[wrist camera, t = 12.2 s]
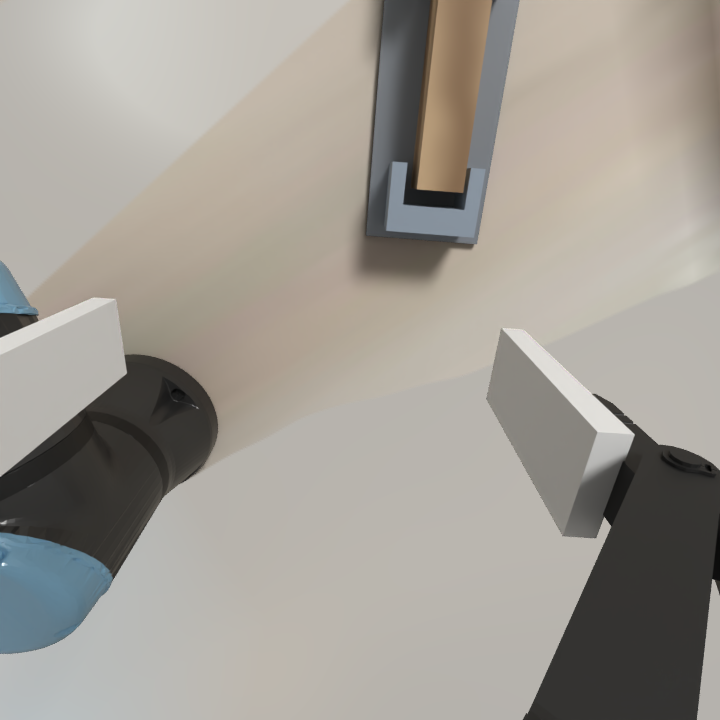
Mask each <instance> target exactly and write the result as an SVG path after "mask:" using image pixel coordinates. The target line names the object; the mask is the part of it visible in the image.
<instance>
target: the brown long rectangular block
mask: <svg viewBox="0 0 720 720" xmlns="http://www.w3.org/2000/svg"><path fill="white" fill-rule="evenodd" d="M491 5H492V0H430V10H429V19H428V29H427V38H426V47H425V57H424V66H423V75H422V85H421V94H420V103H419V113H418V122H417V131H416V141H415V150H414V159H413V169H412V178H411V187H410V188H412V189H419V190H432V191H445V192H458V193H463V190H464V184H465V177H466V170H467V164H468V157H469V151H470V144H471V137H472V131H473V124H474V118H475V111H476V104H477V98H478V91H479V85H480V78H481V71H482V65H483V58H484V51H485V45H486V38H487V32H488V25H489V18H490V12H491Z"/></svg>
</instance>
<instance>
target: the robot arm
mask: <svg viewBox="0 0 720 720" xmlns="http://www.w3.org/2000/svg"><path fill="white" fill-rule="evenodd" d="M37 315H39V314H38V311H37V309H36V308H34V307H31V306H30V304H29V302H28V301H27V299H26V297H25V296H24V294H23V292H22V291H21V289H20V287H19V286H18V284H17V282H16V281H15V279H14V278H13V276H12V274H11V272H10V271H9V269H8V268H7V267H6V266H5V264H4V263H3V262H2V261H0V654H12V653H22V652H28V651H33V650H37V649H41V648H45V647H47V646H50V645H52V644H55V643H57V642H59V641H60V640H62V639H64V638H65V637H67V636H68V635H69V634H71V633H72V632H73V631H74V630H75V629H76V628H77V627H78V626H79V625H80V624H81V623H82V622H83V620H84V619H85V618H86V616H87V615H88V613H89V612H90V611H91V609H92V607H93V606H94V605H95V604H96V602H97V601H98V599H99V598H100V597H101V596H102V595H103V594H104V593H106V592H107V590H108V588H109V587H110V585H111V583H112V581H113V579H114V578H115V576H116V574H117V573H118V571H119V569H120V568H121V566H122V564H123V563H124V561H125V559H126V558H127V556H128V554H129V553H130V551H131V549H132V548H133V546H134V544H135V543H136V541H137V539H138V538H139V536H140V535H141V533H142V531H143V530H144V528H145V526H146V525H147V523H148V521H149V520H150V518H151V516H152V515H153V513H154V511H155V509H156V508H157V506H158V505H159V503H160V502H161V500H162V498H163V497H164V496H165V495H166V494H167V493H169V491H171V490H172V489H173V488H175V487H176V486H177V485H178V484H180V483H182V482H184V481H186V480H187V479H189V478H190V477H192V476H193V475H194V474H195V473H196V472H197V471H198V470H199V469H200V468H201V467H202V466H203V464H204V463H205V461H206V460H207V458H208V456H209V455H210V453H211V451H212V449H213V447H214V445H215V442H216V439H217V433H218V422H217V416H216V412H215V409H214V406H213V404H212V402H211V400H210V398H209V396H208V395H207V393H206V392H205V390H204V389H203V388H202V386H201V385H200V384H199V383H198V382H197V381H196V380H195V379H194V378H193V377H192V376H190V375H189V374H188V373H187V372H185V371H184V370H182V369H181V368H179V367H177V366H175V365H173V364H171V363H169V362H167V361H164V360H162V359H158V358H155V357H151V356H145V355H124V349H123V343H122V336H121V329H120V322H119V315H118V308H117V302H116V299H108V298H94V297H93V298H91V299H88V300H86V301H84V302H82V303H79V304H77V305H75V306H72V307H70V308H68V309H65V310H63V311H61V312H59V313H56V314H54V315H52V316H49V317H47V318H45V319H43V320H40V321H38V319H37V317H36V316H37ZM486 399H487V401H488V403H489V405H490V406H491V408H492V410H493V412H494V414H495V415H496V417H497V419H498V421H499V423H500V424H501V426H502V428H503V430H504V432H505V433H506V435H507V437H508V439H509V441H510V442H511V444H512V446H513V447H514V449H515V451H516V453H517V455H518V457H519V458H520V460H521V462H522V464H523V466H524V467H525V469H526V471H527V473H528V475H529V476H530V478H531V480H532V481H533V484H534V485H535V487H536V489H537V491H538V492H539V494H540V496H541V498H542V500H543V502H544V503H545V505H546V507H547V509H548V510H549V512H550V514H551V516H552V518H553V519H554V521H555V523H556V525H557V527H558V528H559V530H560V532H561V534H562V536H569V537H584V538H596V537H597V534H598V532H599V529H600V526H601V524H602V521H603V518H604V517H605V518H606V520H607V521H608V522H609V524H610V525H611V529H610V531H609V534H608V536H607V538H606V540H605V543H604V545H603V547H602V549H601V552H600V554H599V556H598V559H597V560H596V563H595V565H594V567H593V570H592V572H591V574H590V576H589V578H588V581H587V583H586V585H585V587H584V590H583V592H582V594H581V596H580V598H579V601H578V603H577V605H576V607H575V610H574V612H573V614H572V617H571V619H570V621H569V623H568V625H567V628H566V630H565V632H564V634H563V637H562V639H561V641H560V643H559V646H558V648H557V650H556V653H555V655H554V657H553V659H552V661H551V663H550V666H549V668H548V670H547V672H546V675H545V677H544V679H543V681H542V684H541V686H540V688H539V691H538V693H537V695H536V697H535V699H534V702H533V704H532V706H531V708H530V710H529V712H528V714H527V713H526V715H525V717H524V719H523V720H697V711H698V703H699V694H700V684H701V675H702V666H703V657H704V648H705V639H706V629H707V620H708V612H709V611H708V610H709V602H710V593H711V584H712V579H714V580H715V582H716V585H717V588H718V591H719V594H720V470H719V469H718V468H717V467H716V466H714V465H713V464H712V463H711V462H709V461H707V460H706V459H704V458H702V457H700V456H699V455H696V454H694V453H691V452H689V451H687V450H684V449H680V448H676V447H673V446H666V445H658V444H657V443H656V442H655V441H654V440H653V439H651V438H650V437H649V436H648V435H647V434H646V433H645V432H644V431H643V430H642V429H640V428H639V427H638V426H637V425H636V424H633V421H632V420H630V419H629V418H628V417H627V416H624V413H622V411H620V410H619V409H618V408H617V407H616V406H615V405H614V404H613V403H611V402H609V401H607V400H605V399H604V398H602V397H600V396H598V395H596V394H591V393H590V392H589V391H588V390H587V389H586V388H585V387H584V386H583V385H582V384H581V383H580V382H579V381H577V380H576V379H575V378H574V377H573V376H572V375H571V374H570V373H569V372H568V371H567V370H566V369H565V368H564V367H563V366H561V365H560V364H559V363H558V362H557V361H556V360H555V359H554V358H553V357H552V356H551V355H550V354H549V353H548V352H547V351H546V350H544V349H543V348H542V347H541V346H540V345H539V344H538V343H537V342H536V341H535V340H534V339H533V338H532V337H531V336H530V335H529V334H528V333H527V332H525V331H524V330H522V329H509V328H501V332H500V337H499V342H498V346H497V351H496V356H495V360H494V365H493V370H492V375H491V380H490V384H489V389H488V393H487V398H486Z"/></svg>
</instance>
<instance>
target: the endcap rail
mask: <svg viewBox="0 0 720 720" xmlns="http://www.w3.org/2000/svg"><path fill="white" fill-rule="evenodd" d="M518 6H519V0H492V5H491V12H490V18H489V25H488V32H487V38H486V45H485V51H484V58H483V65H482V71H481V78H480V85H479V91H478V98H477V104H476V111H475V118H474V124H473V131H472V137H471V144H470V151H469V157H468V164H467V170H466V177H465V184H464V190H463V193H458V192H445V191H432V190H419V189H412V188H410V187H411V178H412V169H413V159H414V150H415V141H416V131H417V122H418V113H419V103H420V94H421V85H422V75H423V66H424V57H425V47H426V38H427V29H428V19H429V10H430V0H384V12H383V24H382V37H381V50H380V63H379V76H378V89H377V101H376V114H375V127H374V140H373V153H372V166H371V179H370V191H369V204H368V217H367V230H366V236H379V237H391V238H404V239H417V240H429V241H442V242H455V243H468V244H477V240H478V235H479V229H480V223H481V218H482V212H483V206H484V200H485V195H486V189H487V183H488V178H489V172H490V166H491V160H492V155H493V149H494V143H495V137H496V132H497V126H498V120H499V115H500V109H501V103H502V97H503V92H504V86H505V80H506V75H507V69H508V63H509V57H510V52H511V46H512V40H513V35H514V29H515V23H516V17H517V12H518Z"/></svg>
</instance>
